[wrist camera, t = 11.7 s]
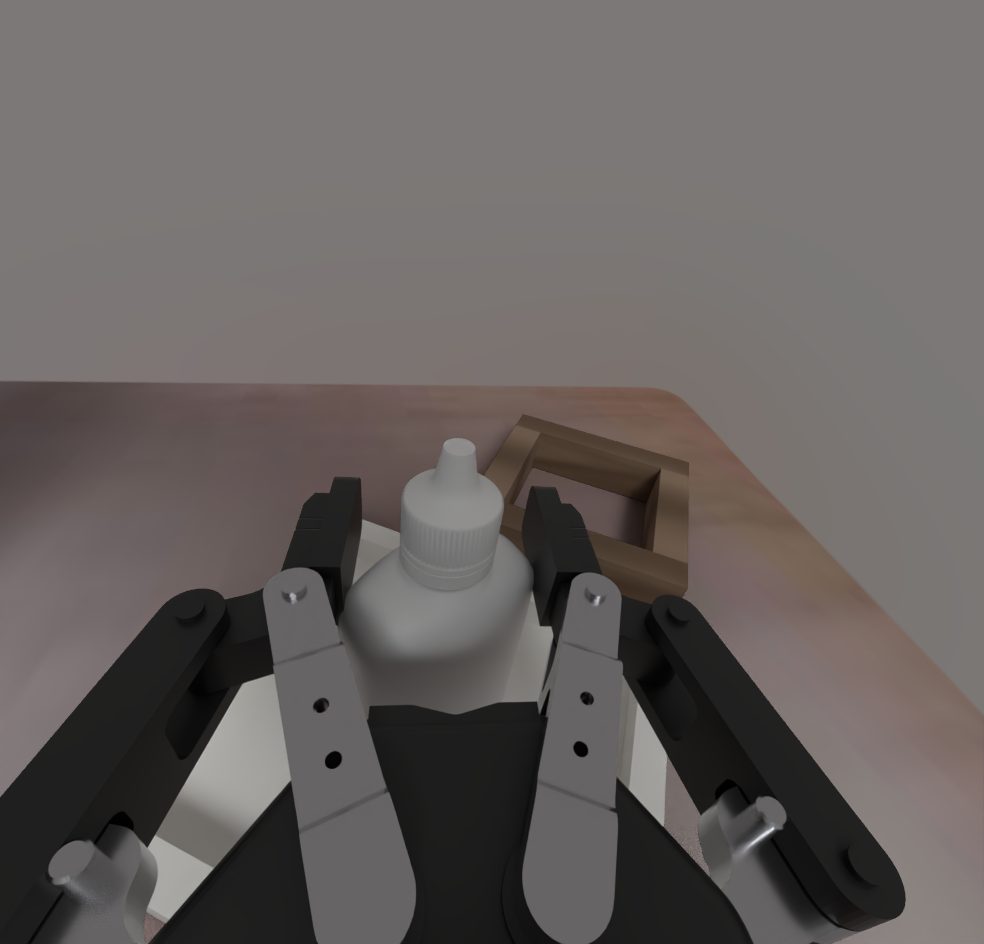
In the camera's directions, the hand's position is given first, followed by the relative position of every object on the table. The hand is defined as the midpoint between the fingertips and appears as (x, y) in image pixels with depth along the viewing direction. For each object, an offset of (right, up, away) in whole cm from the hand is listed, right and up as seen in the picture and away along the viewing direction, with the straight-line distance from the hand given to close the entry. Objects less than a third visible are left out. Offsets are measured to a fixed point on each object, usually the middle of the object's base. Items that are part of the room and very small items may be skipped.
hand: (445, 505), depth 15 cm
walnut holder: (+7, -2, +16) cm, 18 cm away
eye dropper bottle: (-1, -8, +3) cm, 9 cm away
